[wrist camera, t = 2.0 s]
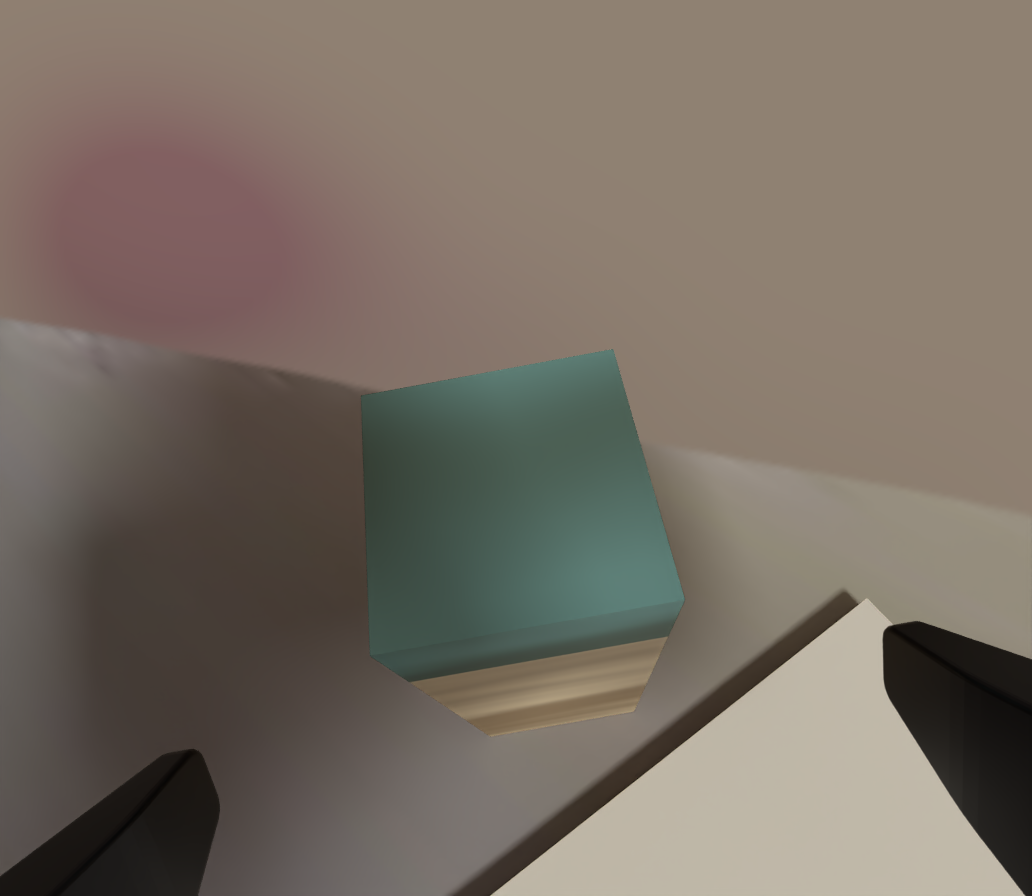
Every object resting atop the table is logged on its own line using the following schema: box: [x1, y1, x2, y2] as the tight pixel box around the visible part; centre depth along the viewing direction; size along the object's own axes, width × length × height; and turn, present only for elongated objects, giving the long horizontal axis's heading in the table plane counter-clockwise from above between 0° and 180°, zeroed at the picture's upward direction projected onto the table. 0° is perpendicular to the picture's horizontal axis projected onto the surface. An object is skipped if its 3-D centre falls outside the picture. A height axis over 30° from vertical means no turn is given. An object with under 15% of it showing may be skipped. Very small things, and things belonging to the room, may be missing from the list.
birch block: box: [361, 349, 685, 737], centre depth 14 cm, size 4×4×11 cm
